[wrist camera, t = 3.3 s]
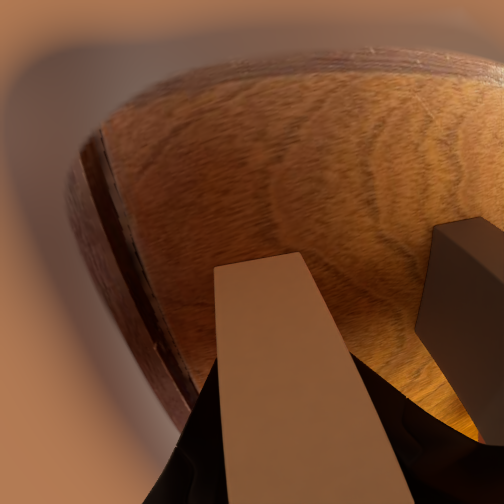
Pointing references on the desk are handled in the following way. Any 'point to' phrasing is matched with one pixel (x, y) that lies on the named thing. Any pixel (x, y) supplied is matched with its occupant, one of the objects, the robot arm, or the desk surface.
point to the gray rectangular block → (468, 318)
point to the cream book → (294, 395)
